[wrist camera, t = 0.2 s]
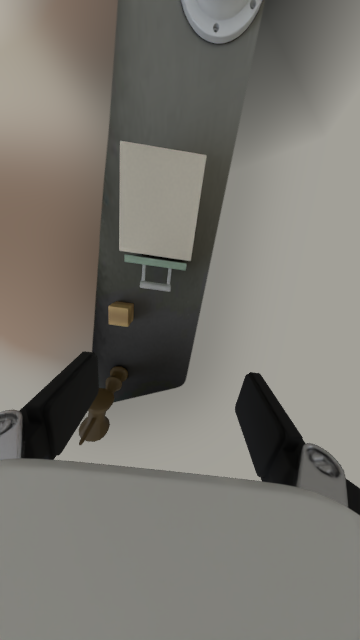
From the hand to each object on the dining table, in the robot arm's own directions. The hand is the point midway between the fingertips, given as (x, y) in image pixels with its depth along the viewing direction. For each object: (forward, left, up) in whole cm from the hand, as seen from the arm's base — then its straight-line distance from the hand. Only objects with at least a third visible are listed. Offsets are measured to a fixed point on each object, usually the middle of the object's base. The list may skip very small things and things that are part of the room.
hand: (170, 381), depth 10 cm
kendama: (+26, -14, -31) cm, 43 cm away
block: (+7, -13, -31) cm, 34 cm away
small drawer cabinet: (-14, -5, -31) cm, 34 cm away
